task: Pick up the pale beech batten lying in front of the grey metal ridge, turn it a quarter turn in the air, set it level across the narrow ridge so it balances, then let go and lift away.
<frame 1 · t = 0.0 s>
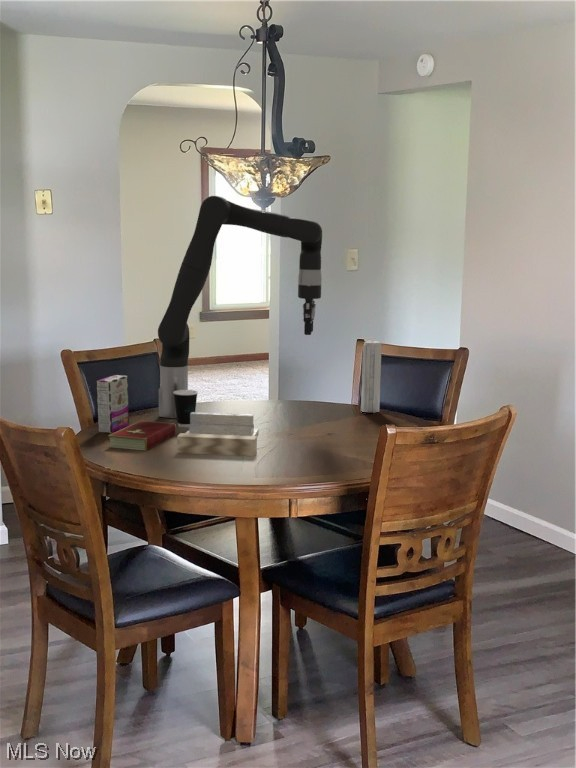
hand: (308, 333, 276), 29 cm above the table, fingers open, 8 cm apart
air filter: (369, 412, 296), on the table
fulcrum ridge: (221, 436, 256), on the table
candy bar box: (113, 430, 263), on the table
beech batten: (217, 453, 237), on the table
hardcover book: (143, 442, 250), on the table
dixie cup: (185, 426, 270), on the table
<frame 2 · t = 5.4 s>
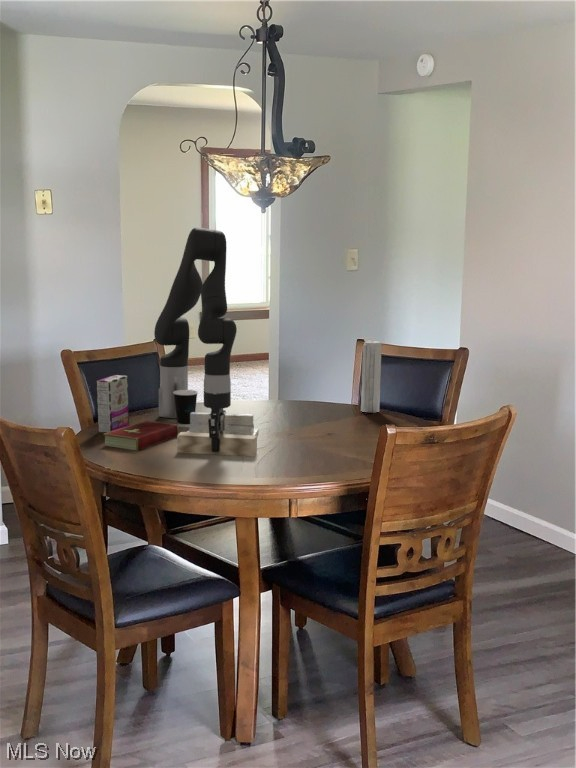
hand: (217, 449, 237), 1 cm above the table, fingers closed on beech batten, 4 cm apart
beech batten: (217, 452, 237), on the table, touching gripper
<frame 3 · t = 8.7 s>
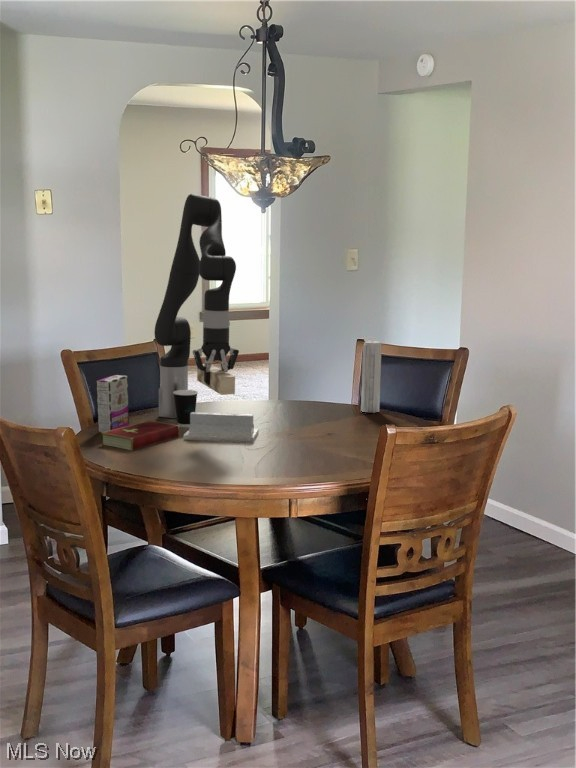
hand: (215, 383, 246), 18 cm above the table, fingers closed on beech batten, 4 cm apart
beech batten: (215, 387, 246), point 17 cm above the table, touching gripper
when the fingers open (8 cm above the table, at t = 12.3 s): beech batten stays where it is, resting on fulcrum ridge.
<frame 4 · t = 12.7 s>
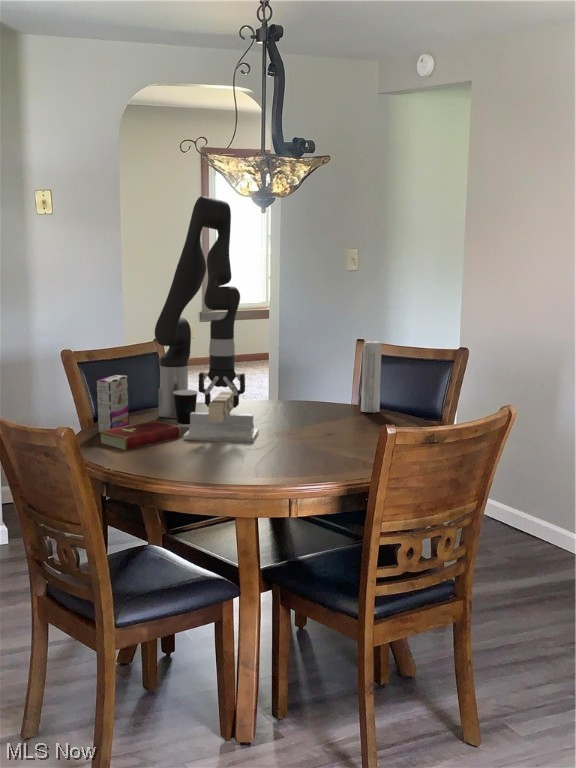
hand: (221, 406, 255), 9 cm above the table, fingers open, 7 cm apart
beech batten: (221, 414, 255), point 7 cm above the table, touching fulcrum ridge
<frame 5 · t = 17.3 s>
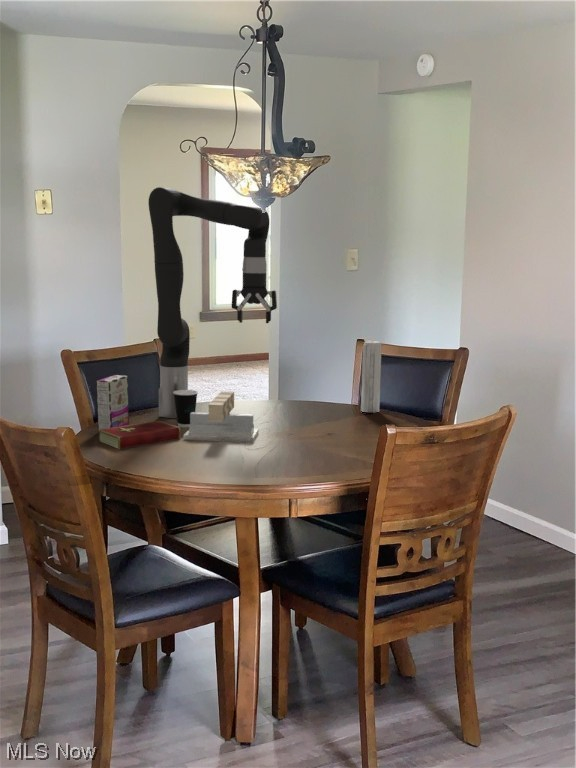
hand: (254, 322, 269), 33 cm above the table, fingers open, 8 cm apart
at the end: beech batten 0.1 cm off-centre on the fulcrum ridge, point 7.0 cm above the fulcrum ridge's base; beech batten tilted 0°; the gripper is holding nothing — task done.
